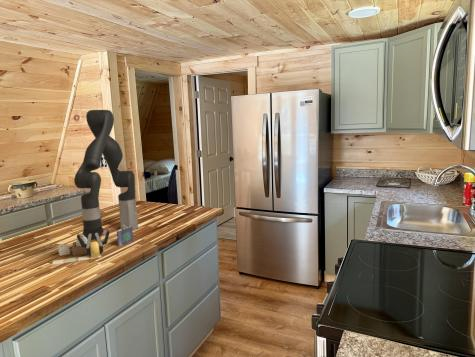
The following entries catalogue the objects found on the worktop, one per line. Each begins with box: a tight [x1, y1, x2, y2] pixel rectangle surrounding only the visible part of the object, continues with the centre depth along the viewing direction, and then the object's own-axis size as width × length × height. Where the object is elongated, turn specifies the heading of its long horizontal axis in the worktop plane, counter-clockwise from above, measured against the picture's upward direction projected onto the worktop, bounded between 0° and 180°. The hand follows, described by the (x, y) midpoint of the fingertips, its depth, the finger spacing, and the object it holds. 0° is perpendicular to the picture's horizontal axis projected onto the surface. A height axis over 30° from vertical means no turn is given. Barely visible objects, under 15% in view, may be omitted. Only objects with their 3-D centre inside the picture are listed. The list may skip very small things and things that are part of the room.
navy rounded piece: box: [116, 224, 134, 247], centre depth 168 cm, size 9×3×11 cm, turn 151°
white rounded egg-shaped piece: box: [75, 236, 88, 246], centre depth 159 cm, size 5×5×6 cm
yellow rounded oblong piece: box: [90, 240, 100, 259], centre depth 153 cm, size 4×4×7 cm
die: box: [57, 243, 71, 257], centre depth 157 cm, size 4×4×4 cm
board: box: [51, 241, 102, 266], centre depth 155 cm, size 20×18×5 cm
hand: (95, 254), depth 153 cm, fingers closed on yellow rounded oblong piece, 4 cm apart
